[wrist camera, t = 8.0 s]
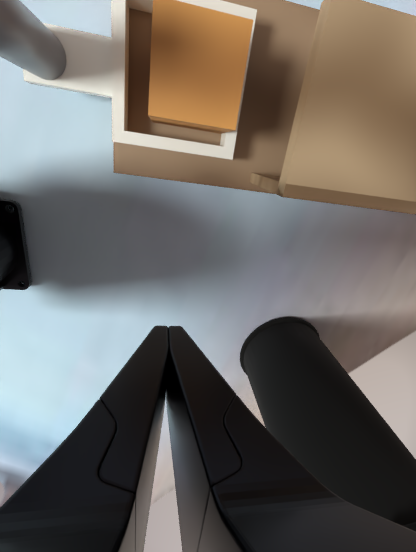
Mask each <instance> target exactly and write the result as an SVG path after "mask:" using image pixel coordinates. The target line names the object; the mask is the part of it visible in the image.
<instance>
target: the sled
mask: <svg viewBox="0 0 416 552" xmlns="http://www.w3.org/2000/svg"><path fill="white" fill-rule="evenodd" d="M177 1H181V2H185V3H189V4H193V5H196V6H200V7H204V8H208V9H212V10H216V11H220V12H224V13H228V14H232V15H236V16H240V17H244V18H248V19H252V20H253V26H252V32H251V38H250V44H249V50H248V57H247V63H246V69H245V75H244V81H243V88H242V94H241V100H240V106H239V112H238V119H237V125H236V130H235V131H230V132H226V133H222V134H221V141H220V146H217V145H210V144H204V143H198V142H192V141H185V140H179V139H173V138H167V137H160V136H154V135H148V134H142V133H135V132H129V131H127V130H128V67H129V8H131V9H135V10H139V11H144V12H148V13H152V12H153V0H111V22H112V38H110V37H106V36H101V35H97V34H92V33H88V32H83V31H78V30H74V29H69V28H65V27H60V26H55V25H51V24H46V23H42V22H41V21H40V20H39V19H38V18H37V17H36V16H35V15H34V14H33V13H32V12H31V11H30V10H29V9H28V8H27V7H26V6H25V5H24V4H23V3H22V2H21V1H20V0H0V57H2V58H4V59H6V60H8V61H10V62H12V63H13V64H15V65H17V66H19V67H21V68H23V74H24V81H26V82H28V83H31V84H35V85H40V86H46V87H52V88H57V89H63V90H68V91H74V92H79V93H85V94H91V95H96V96H102V97H107V98H112V142H119V143H125V144H132V145H138V146H145V147H151V148H158V149H165V150H171V151H178V152H184V153H191V154H198V155H204V156H211V157H217V158H224V159H230V160H233V154H234V148H235V142H236V135H237V129H238V123H239V117H240V111H241V105H242V99H243V93H244V87H245V81H246V74H247V68H248V62H249V56H250V50H251V44H252V38H253V32H254V26H255V20H256V13H257V9H253V8H249V7H245V6H241V5H238V4H234V3H230V2H226V1H222V0H177Z"/></svg>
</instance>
